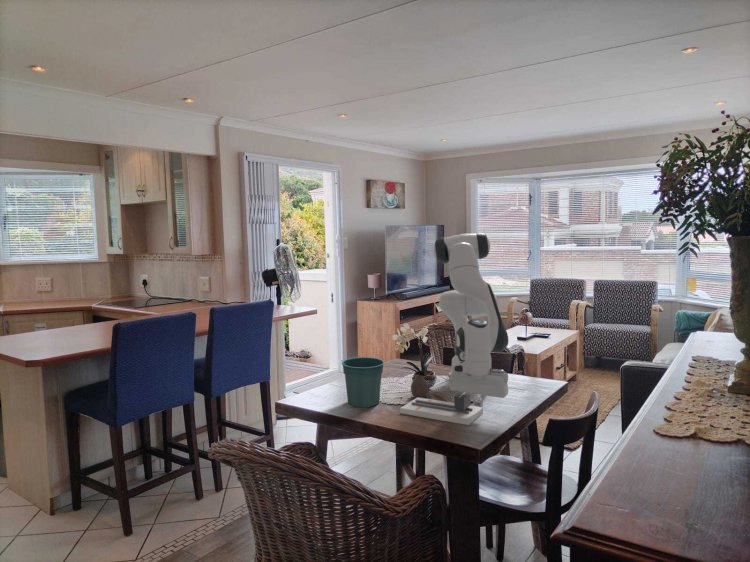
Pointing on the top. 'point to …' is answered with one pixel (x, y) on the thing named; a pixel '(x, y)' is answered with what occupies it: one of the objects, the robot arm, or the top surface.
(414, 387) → the vase
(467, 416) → the white slider track base
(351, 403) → the flower pot
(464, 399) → the fader tab
